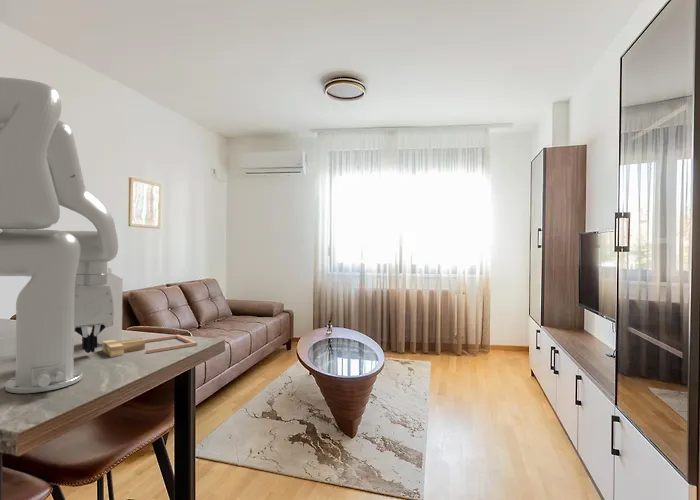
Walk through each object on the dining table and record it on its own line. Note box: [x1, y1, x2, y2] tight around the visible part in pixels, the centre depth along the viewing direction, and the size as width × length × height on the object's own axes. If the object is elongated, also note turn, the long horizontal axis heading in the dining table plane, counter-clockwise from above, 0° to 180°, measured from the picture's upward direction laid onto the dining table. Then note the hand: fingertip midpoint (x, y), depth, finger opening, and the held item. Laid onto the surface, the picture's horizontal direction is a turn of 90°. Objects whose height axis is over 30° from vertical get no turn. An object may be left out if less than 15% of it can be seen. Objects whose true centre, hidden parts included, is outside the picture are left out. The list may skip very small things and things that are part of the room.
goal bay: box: [143, 334, 198, 354], centre depth 115 cm, size 14×14×1 cm
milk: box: [97, 266, 124, 345], centre depth 118 cm, size 6×6×22 cm
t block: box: [101, 338, 146, 358], centre depth 108 cm, size 9×9×2 cm
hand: (89, 351), depth 102 cm, fingers closed
